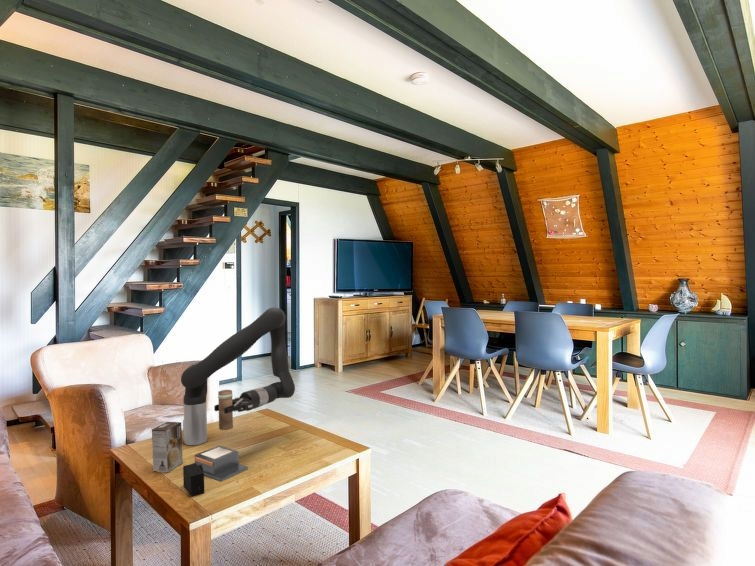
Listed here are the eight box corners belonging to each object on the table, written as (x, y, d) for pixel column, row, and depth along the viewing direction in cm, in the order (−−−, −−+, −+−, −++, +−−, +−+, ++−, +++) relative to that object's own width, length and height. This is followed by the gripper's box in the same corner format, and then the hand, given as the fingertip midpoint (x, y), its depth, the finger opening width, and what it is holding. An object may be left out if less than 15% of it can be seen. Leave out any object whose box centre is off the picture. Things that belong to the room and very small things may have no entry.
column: (215, 428, 177) (215, 392, 177) (227, 424, 182) (226, 389, 181) (225, 431, 174) (224, 394, 174) (236, 427, 179) (235, 390, 178)
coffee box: (168, 461, 182) (167, 421, 181) (183, 463, 180) (182, 421, 180) (152, 472, 173) (151, 429, 172) (167, 473, 171) (166, 430, 171)
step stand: (186, 468, 175) (186, 452, 175) (213, 457, 185) (213, 442, 185) (221, 481, 164) (220, 464, 164) (247, 469, 174) (247, 452, 174)
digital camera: (208, 492, 156) (207, 472, 156) (191, 497, 153) (190, 476, 153) (199, 481, 165) (199, 461, 165) (183, 485, 162) (183, 465, 161)
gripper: (242, 387, 193) (207, 397, 179) (266, 392, 186) (232, 402, 171) (242, 405, 194) (207, 416, 179) (267, 410, 186) (232, 422, 172)
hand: (220, 409), depth 175 cm, fingers closed on column, 5 cm apart
